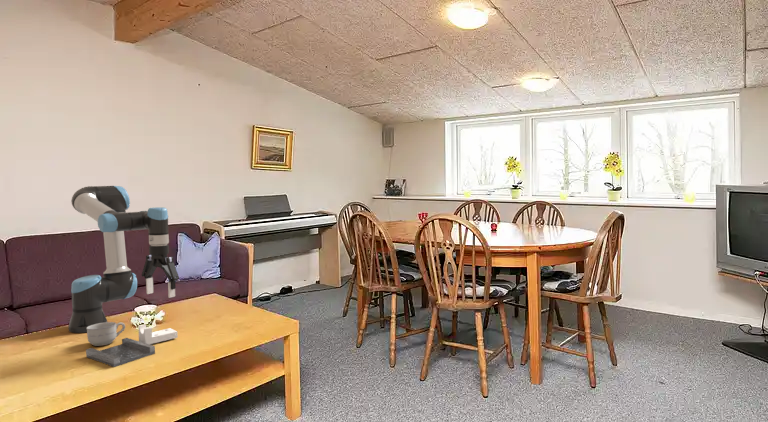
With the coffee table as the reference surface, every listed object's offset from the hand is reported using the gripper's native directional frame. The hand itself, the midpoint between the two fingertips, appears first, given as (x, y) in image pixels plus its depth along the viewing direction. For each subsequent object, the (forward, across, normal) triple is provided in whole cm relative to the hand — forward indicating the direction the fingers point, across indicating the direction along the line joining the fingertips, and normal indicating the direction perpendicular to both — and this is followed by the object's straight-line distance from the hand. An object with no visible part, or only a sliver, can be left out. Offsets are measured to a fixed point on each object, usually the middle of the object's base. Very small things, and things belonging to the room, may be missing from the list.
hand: (160, 295), depth 206 cm
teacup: (+19, -18, -13) cm, 29 cm away
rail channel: (+19, +1, -19) cm, 27 cm away
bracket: (+20, -1, -1) cm, 20 cm away
